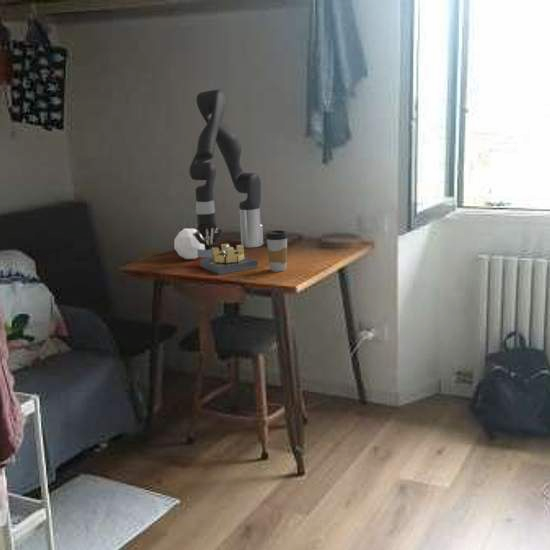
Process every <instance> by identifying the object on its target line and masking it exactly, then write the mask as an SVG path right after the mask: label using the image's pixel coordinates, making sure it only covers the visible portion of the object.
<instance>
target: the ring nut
mask: <svg viewBox="0 0 550 550" xmlns="http://www.w3.org/2000/svg"><path fill="white" fill-rule="evenodd" d="M220 245H221V249H222V248H223V247H230V244H229V243H222V244H220ZM197 251H198V257H197V258H205V259H208V258H211V259H212V260H213V261H214V262H218V263H232V262H239V261H242V260H244V259H245V256H246V255H245V247H244V246H243V245H241V244H236V249H235V248H234V247H233V248H229V249H226V255H227V256H223V251H222V250H220V248H219V246H212V248H211V249H198V250H197Z"/></svg>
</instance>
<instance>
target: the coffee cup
mask: <svg viewBox="0 0 550 550" xmlns="http://www.w3.org/2000/svg"><path fill="white" fill-rule="evenodd" d="M265 238H266V244H267V245H266V246H267V253H268V263H269V269H270V271H271V272H277V273H278V272H285V271H286V270H287V266H288V265H287V264H288V263H287V261H288V233H287V231H286V230H281V229H280V230H270V231H267V233H266V237H265Z"/></svg>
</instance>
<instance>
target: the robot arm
mask: <svg viewBox="0 0 550 550" xmlns="http://www.w3.org/2000/svg"><path fill="white" fill-rule="evenodd" d="M224 93H225V92H223V91H222V90H221V89H211V90H207V91H202V92H199V93H197V95H196V105H197V108H198V111H199V113H200V114H201V116H202V118H203V120H204V121H205V123H206V125H205V126H204V128H203V129H202V131H201V133H200V134H199V137H198V142H197V147H196V152H195V155H194V157H193V159H192V161H191V164H190V166H189V172H188V173H189V176H190V178H191V179H192V180H194V181H205V183H204V185H199V186H197V187H196V188H195V202H196V203H195V204H196V205H195V208H196V209H195V210H196V211H195V212H196V221H197V228H196V230H197V231H196V232H195V233H193V236H194V237H195V238H196V239H197V240H198V241H199V243H201V244H204V245H205V249H211V248H212V247H213V244H214V243H216V242H217V240H218V239H219V237H220V236H221V233H222V231H223V230H222V229H220V228H218V227H217V224H216V221H217V219H216V206H215V201H214V184H215V180H216V175H217V174H216V173H217V167H216V166H215V163H213V162H209V160H212V159H213V158H214V155H215V149H216V144H217V147H218V150H219V151H220V154H221V155H222V157H223V160H224V163H225V165H226V167H227V170H228V173H229V174H230V177H231V180H232V184H233V187H234V189H235V190H236V191H237V192H238V193H239V194H247V195H246V199H245V200H243V201H241V202H239V204H238V207H239V226H240V227H239V228H240V245H243V246H244V248H258V247H261V246H263V245H264V232H263V231H264V230H263V229H264V228H263V224H262V223H261V210H260V209H261V208H260V206H261V199H262V198H261V197H262V196H261V195H262V193H261V191H262V189H261V188H262V187H261V186H262V184H261V178H260V176H259V174H257V173H256V172H244V170H243V169H242V166H241V163H240V160H241V156H242V145H241V142H240V140H239V138H238V136H237V134H236V132H235V131H234V130H233V129H231V128H230V127H229V126H228V125H227V124H225V123H224V122H222V120H223V117H224V113H225V111H226V107H227V106H226V105H227V100H226V96H225V95H226V94H224ZM206 161H208V162H206ZM200 234H201V235H202V238H201V237H200ZM262 244H263V245H262Z"/></svg>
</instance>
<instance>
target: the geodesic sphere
mask: <svg viewBox="0 0 550 550" xmlns="http://www.w3.org/2000/svg"><path fill="white" fill-rule="evenodd" d="M196 231H197V228H192V227H190V228H185V227H183V228H182V230H181V231H179V232H178V234H177V235H176V237H175V238H174V247H173V248H174V250H175V251H176V252H177V254H178V256H180V257H181V258H183V259H184V260H196V259H198V258H199V257H198V251H197V250H198V249H205V245H204V244H201V243H199V241H198V240H197V239H196V238H195V237H194V236H193V233H195V232H196ZM200 237H201V238H202V235H201V234H200Z"/></svg>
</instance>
